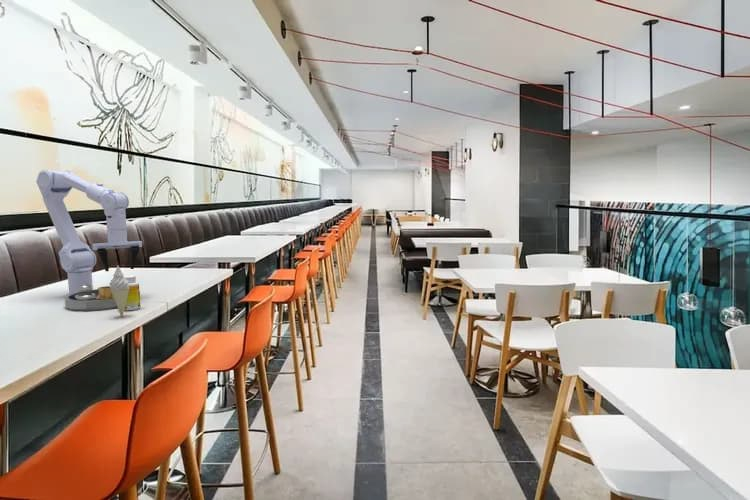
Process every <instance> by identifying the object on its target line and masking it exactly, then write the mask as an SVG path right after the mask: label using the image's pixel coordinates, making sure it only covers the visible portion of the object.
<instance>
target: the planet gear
mask: <svg viewBox="0 0 750 500" xmlns="http://www.w3.org/2000/svg"><path fill="white" fill-rule="evenodd" d="M97 289H98V297H95V300H104V299H112V298H114V297H113V295H112V292H111V290H110V289H111V288H110V285H106V286H100V287H97Z"/></svg>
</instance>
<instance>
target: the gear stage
mask: <svg viewBox="0 0 750 500" xmlns="http://www.w3.org/2000/svg"><path fill="white" fill-rule="evenodd" d="M139 292H140V293H141V291H140V290H139ZM95 297H98V288H97V289H93V290H92V285H91V284H83V285H78V286H77V293H73V294H70V295H68V296H67V295H66V296H64V306H65V309H66V310H69V311H73V312H96V311H98V312H99V311H108V310H115V309H118V307H117V305H116V302H115V300H114V298H112V299H104V300H95Z"/></svg>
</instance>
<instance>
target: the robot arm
mask: <svg viewBox="0 0 750 500" xmlns="http://www.w3.org/2000/svg"><path fill="white" fill-rule="evenodd" d="M35 182H36V184H37V186H38V189H39V191H40V194H41V196H42V200H43V204H44V206H45V207H46V210H47V212H48V215H49V217H50V219H51V221H52V224H53V225H54V228H55V230H56V233H57V236H58V237H59V240H60V243H61V244H62V248H61V249H60V250H59V252H58V256H59V260H60V261H59V262H60V267H61V268H62V269H63V270H64V271H65V273H67V283H68V284H67V285H68V293H65V294H66V296H68V295H70V294H73V293H77V286H78V285H83V284H91V285H92V290H94V284H93V275H92V273H93V272H92V271H93V270H94V267H95V266H96V264H97V256H96V254H95V253H94V252H93V251H96V252H97V254H98V256H99V258H100V259H101V262H102V264H103V267H104V271H105V272H110V270H109V263H108V257H109V256H108V253H109V252H108V251H107V250H111V249H113V250H114V249H126V248H127V249H128V252H129V253H128V254H129V267H130V269H131V270H134V269H135V263H136V260H137V257H138V254H139V252H140V250H141V248H143V241H142V240H132V241H129V240H128V231H127V218H126V217H127V215H126V214H127V213H126V209H128V207H129V204H130V199H129V198H128V197H129V196H127V195H126V193H124V192H122V191H121V192H115V190H114V189H112V188H108V187H105V186H104V184H103V183H102V182H95V183H90V182H88V181H86V180H85V179H83V178H81V177H80V176H78V175H77V174H76V173H75V172H71V171H70V170H48V169H42V170H41V171H40V172H39V173H38V174H37V178H36V181H35ZM72 189H76V190H78V191H80V192H82V193H84V194H85V195H86V197H87V198H88V199H89V200H90V201H93V202H95V203H98V204H99V205H101V207H102V209H103V212H104V215H105V216H106V217H105V218H106V219H105V220H106V230H107V231H106V233H107V242H100V243H92V249H91V248H90V245H88V244H87V243H84V242H83V241H82V240H81V239H80V236H79V234H78V232H77V229H76V227H75V224H74V222H73V221H72V218H71V216H70V213H69V212H68V208H67V206H66V204H65V202H64V199H65V198H67V196H68V195H69V194H70V192H71V190H72Z"/></svg>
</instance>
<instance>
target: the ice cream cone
mask: <svg viewBox="0 0 750 500" xmlns="http://www.w3.org/2000/svg"><path fill="white" fill-rule="evenodd" d="M112 276H113V277H112V279H111V280H110V282H109V283H108V284H109V286H110V288H111V289H110V290H111V292H112V295H113V297H114V300H115V302H116V305H117V307H118V308H117V309H118V312H119V315H120V317H123V316H124V313H125V311H124V309H125V304H126V300H127V296H128V291H129V287H128V286H129V285H128V284H129V282H128V281H127V279H126V278H125V277H124V276H125V274H124V272H123V271H122V270H121V268H120V266H119V265H118V264H117V266H116V268H115V271H114V273H113V275H112Z"/></svg>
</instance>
